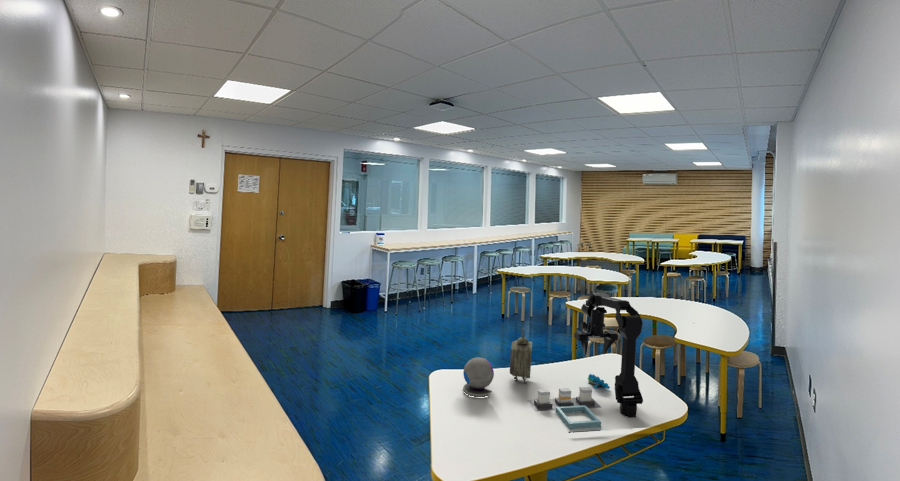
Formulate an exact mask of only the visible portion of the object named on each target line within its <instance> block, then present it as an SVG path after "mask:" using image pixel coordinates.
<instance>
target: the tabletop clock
mask: <svg viewBox="0 0 900 481" xmlns="http://www.w3.org/2000/svg"><path fill="white" fill-rule="evenodd" d="M521 332H522V333H521V337H518V339H517V340H514V341H511V347H510V358H509V361H510V362H509V374H510V375H512V376H513V380H514V379H517V380H518V377H520V378H521V379H522V381H523V382H524V383H523V384H525V385H527V384H528V382H526V378H528V379H530V378H531V370H532V368H531V367H532V366H531V365H532V354H533V353H532V352H533V351H532V350H533V341H529V340H528V338H526V337H525V327H522V331H521Z"/></svg>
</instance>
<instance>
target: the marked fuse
mask: <svg viewBox="0 0 900 481" xmlns="http://www.w3.org/2000/svg"><path fill="white" fill-rule="evenodd" d="M557 398H558V400H559V401H560V402H561V403H562V402H570V401H571V398H572V390H571V389H570V388H569V387H560V388H558V397H557Z"/></svg>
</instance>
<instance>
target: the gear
mask: <svg viewBox="0 0 900 481" xmlns="http://www.w3.org/2000/svg"><path fill="white" fill-rule="evenodd" d="M587 382H588V383H587V384H588V385H589V384H592V385H594V386H593V388H594V389H598V387H599V386H600V387H602V388H605V389H606V390H610V388H611V386H609V383H607V382H605V380H603V379H600V377H599V376H596V375H595V374H591V373H589V374H588V376H587Z"/></svg>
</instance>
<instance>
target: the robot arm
mask: <svg viewBox="0 0 900 481" xmlns="http://www.w3.org/2000/svg"><path fill="white" fill-rule="evenodd" d="M605 307H607V308H610V309H614V310H615V318H614V319H615V320H616V323H617V325H618V331H619V333H620V334H621V336H622V345H621V363H620V364H621V365H620V366H621V367H620V373H619V374H618V375H615V377H614V394H615V400H616V403H618V404H619V413H620V415H622V416H624V417H627V418H629V419H630V418H637V411H638V405H642V404H643V402H644V399H643V396H642V392H641V390H640V387H639V381H638V379H637V378H636V376H635V373H636V372H635V371H636V370H635V368H636V353H637V339H638V338H639V336H640V335H641V334H642V330H643V329H642V328H643V324H644V322H643V320H642V317H641V315H640V313H639V312H638V310H636V309H635V308H634V307H633V306H632V305H631V303H630V301H628V300H625V299H619V298H615V297H611V296H610V295H609V294H608V293H606V292H591V293H590V295H589V296H588V298H587V299H585V302H584V303H583V304H582V306H581V309H580V310H581V312H582V313H583V314H584V315H586V316H588V317H590V320H589V321H588V323H587V322H586V321H581V322H580V330H581V331H580V330H579V331H577V330H575V332H574V334H573V338H574V339H576V340H577V341H579V342H580V344H581V346H582V350H583V354H584V355H586V356H587V353H588V347H589V341H588V340H589V339H593V338H594V339H597V338H601V339H602V338H603V349H602V350H603V352H602V353H603V354H604V355H606V354H607V352H608V351H609V349H610V348H611V346H612V345H613V344H614V343H615V342H616V341H619V334H618V333H617V332H616V331H615V330H604V327H606V324H605V314H607V313H608V312H607V309H605ZM621 311H625V312H627V313H628V315H622V314H621Z"/></svg>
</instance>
